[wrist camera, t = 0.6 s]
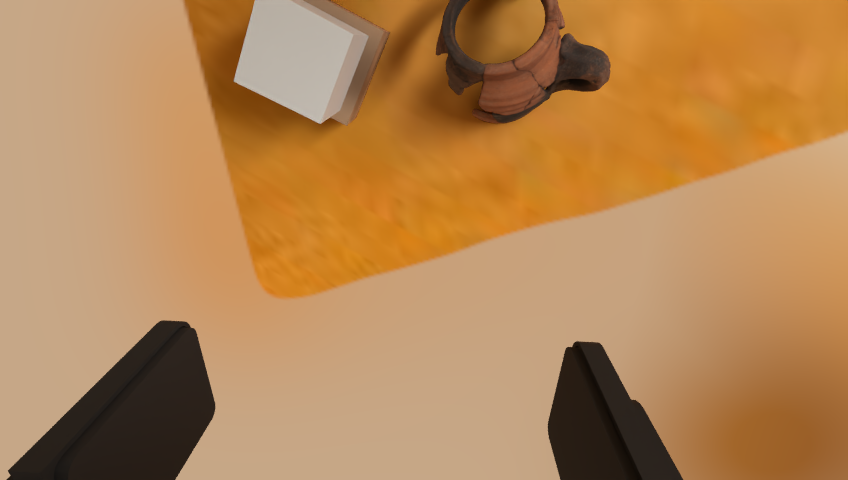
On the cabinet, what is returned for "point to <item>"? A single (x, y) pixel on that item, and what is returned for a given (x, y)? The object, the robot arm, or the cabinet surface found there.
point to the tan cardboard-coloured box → (366, 61)
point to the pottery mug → (523, 68)
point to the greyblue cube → (299, 57)
